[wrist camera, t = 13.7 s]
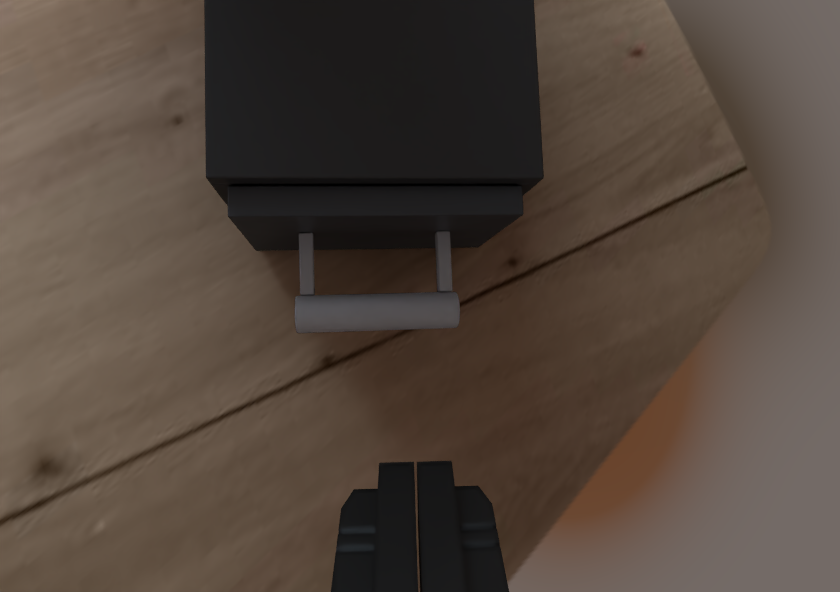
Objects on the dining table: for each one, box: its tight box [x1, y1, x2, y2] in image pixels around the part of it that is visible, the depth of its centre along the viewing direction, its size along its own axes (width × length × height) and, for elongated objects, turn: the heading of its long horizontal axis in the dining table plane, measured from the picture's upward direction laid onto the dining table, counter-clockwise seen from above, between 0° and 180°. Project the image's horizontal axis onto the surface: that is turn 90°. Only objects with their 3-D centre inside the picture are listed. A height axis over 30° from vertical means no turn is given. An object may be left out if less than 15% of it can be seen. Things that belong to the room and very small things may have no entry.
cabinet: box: [204, 0, 544, 206], centre depth 28 cm, size 15×13×10 cm
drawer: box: [228, 184, 523, 333], centre depth 28 cm, size 18×11×8 cm, turn 2°
